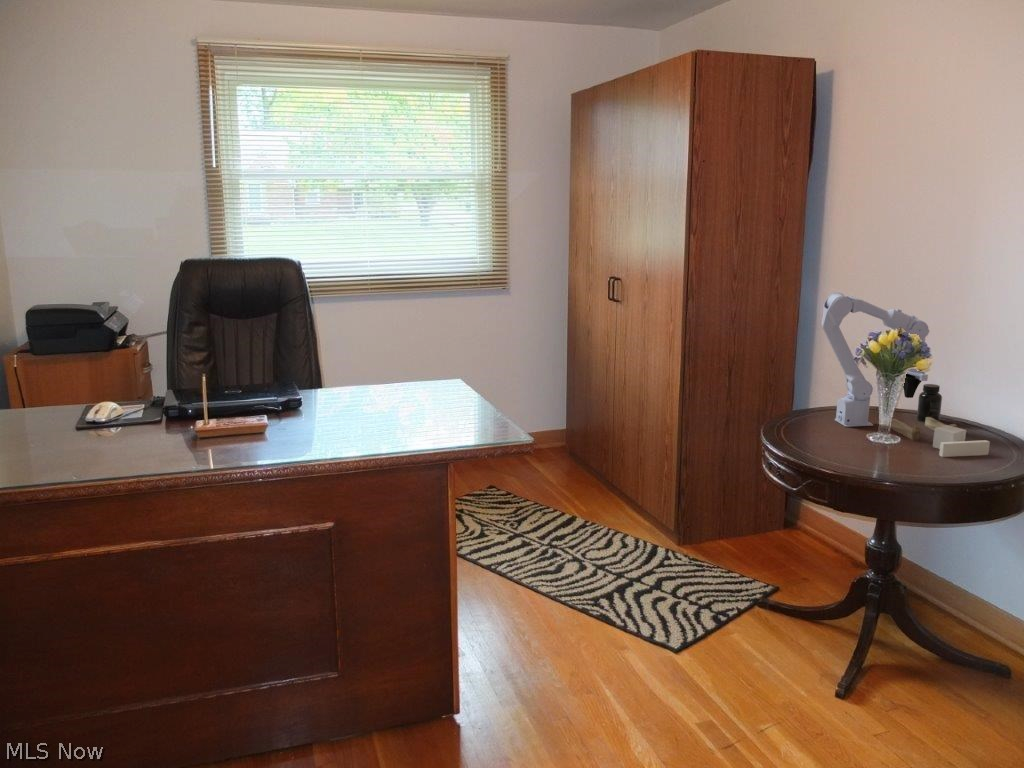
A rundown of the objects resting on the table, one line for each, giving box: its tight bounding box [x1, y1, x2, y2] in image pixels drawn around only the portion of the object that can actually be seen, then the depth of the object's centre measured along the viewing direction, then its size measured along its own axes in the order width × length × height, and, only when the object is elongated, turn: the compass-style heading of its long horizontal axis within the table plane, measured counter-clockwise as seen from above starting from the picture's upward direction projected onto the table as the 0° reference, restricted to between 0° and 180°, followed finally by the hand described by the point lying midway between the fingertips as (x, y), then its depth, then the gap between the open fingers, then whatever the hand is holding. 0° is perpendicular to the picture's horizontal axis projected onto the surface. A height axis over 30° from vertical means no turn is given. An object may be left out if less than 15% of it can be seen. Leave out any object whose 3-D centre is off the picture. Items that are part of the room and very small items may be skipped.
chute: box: [890, 417, 958, 442], centre depth 250 cm, size 14×14×4 cm
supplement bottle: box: [916, 383, 943, 423], centre depth 263 cm, size 7×7×12 cm
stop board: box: [938, 439, 991, 458], centre depth 230 cm, size 14×2×4 cm, turn 95°
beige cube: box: [932, 424, 967, 450], centre depth 236 cm, size 6×6×6 cm
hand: (908, 397), depth 257 cm, fingers closed
